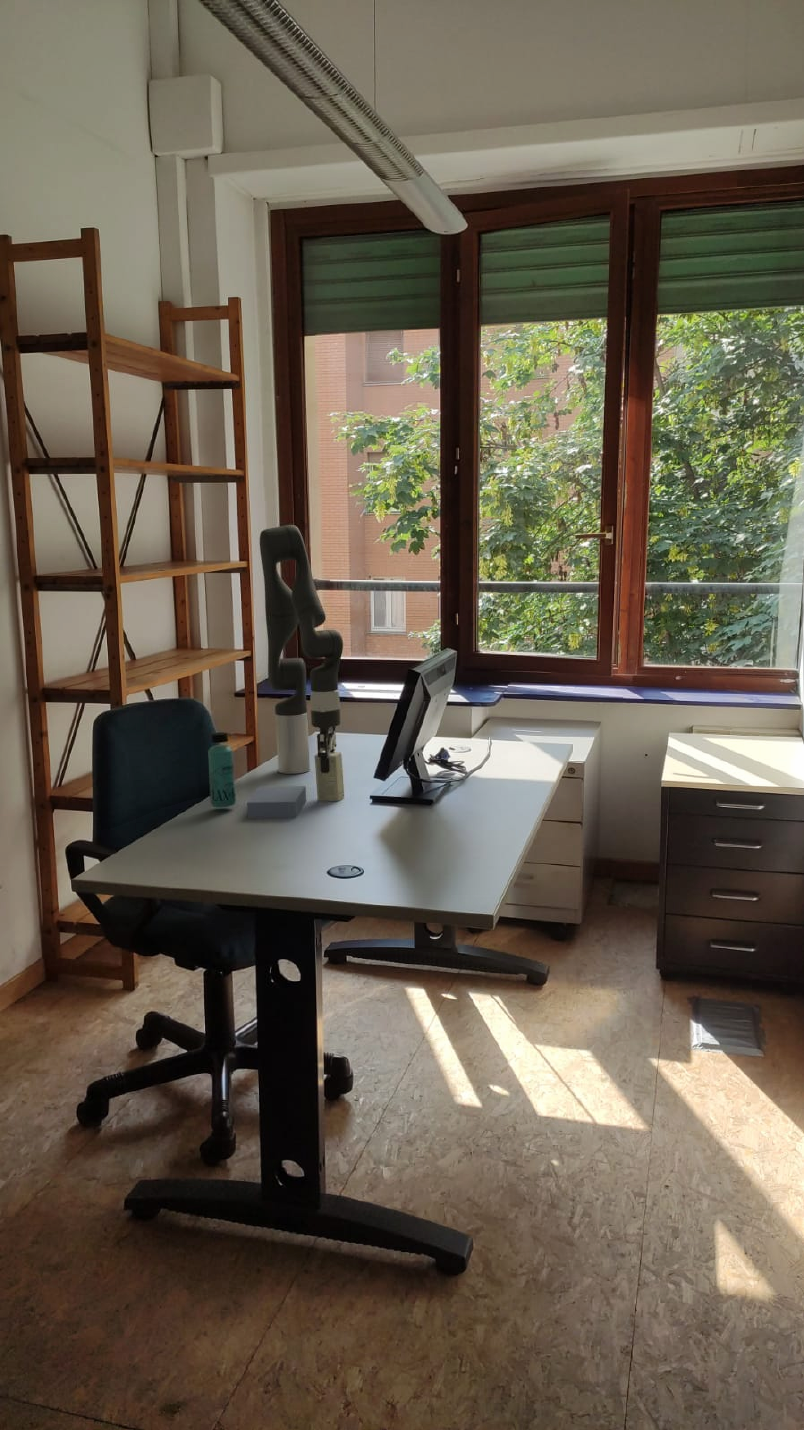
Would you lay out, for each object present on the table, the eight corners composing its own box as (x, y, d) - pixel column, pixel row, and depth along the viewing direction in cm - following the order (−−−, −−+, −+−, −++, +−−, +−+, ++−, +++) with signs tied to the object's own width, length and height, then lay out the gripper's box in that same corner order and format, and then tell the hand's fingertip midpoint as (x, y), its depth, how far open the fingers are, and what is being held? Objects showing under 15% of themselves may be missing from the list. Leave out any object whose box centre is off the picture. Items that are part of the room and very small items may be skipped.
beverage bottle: (205, 811, 268) (200, 734, 264) (221, 805, 274) (216, 729, 270) (226, 814, 265) (221, 736, 261) (242, 807, 271) (237, 731, 267)
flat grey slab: (261, 803, 276) (260, 786, 276) (306, 802, 275) (305, 785, 275) (248, 820, 261) (247, 802, 260) (296, 819, 260) (295, 801, 259)
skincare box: (344, 797, 278) (342, 752, 276) (338, 801, 274) (336, 756, 271) (322, 796, 280) (320, 751, 277) (316, 800, 275) (314, 755, 273)
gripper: (315, 703, 280) (318, 763, 282) (305, 712, 266) (308, 775, 268) (343, 703, 279) (346, 763, 281) (335, 711, 265) (337, 774, 267)
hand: (328, 769), depth 275 cm, fingers open, 8 cm apart
